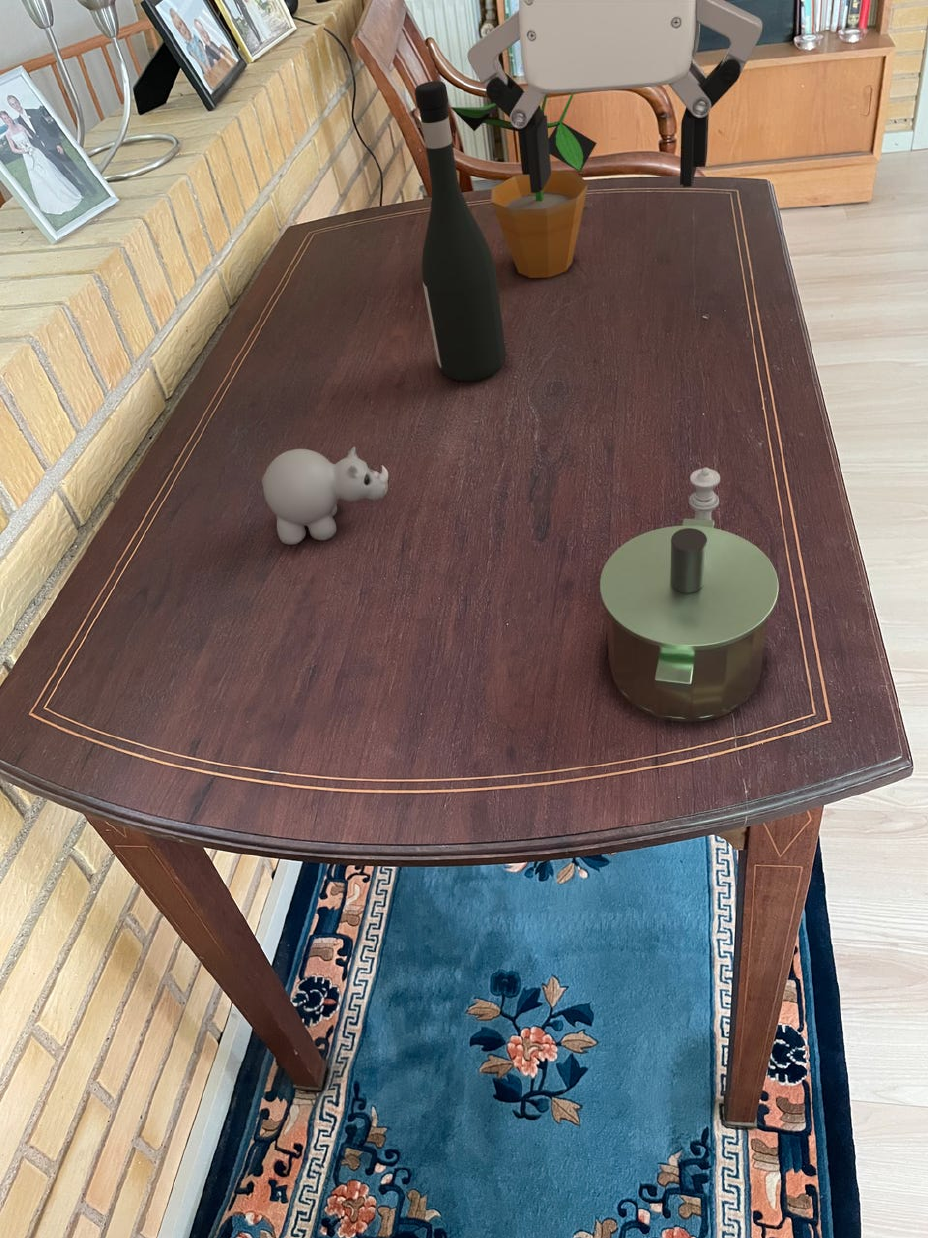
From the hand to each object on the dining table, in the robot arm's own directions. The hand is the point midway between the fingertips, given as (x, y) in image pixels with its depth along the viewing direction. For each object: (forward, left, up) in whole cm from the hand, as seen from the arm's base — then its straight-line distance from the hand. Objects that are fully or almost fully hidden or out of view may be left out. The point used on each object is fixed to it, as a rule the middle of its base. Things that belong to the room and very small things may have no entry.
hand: (613, 181), depth 60 cm
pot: (-7, +13, -32) cm, 35 cm away
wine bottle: (+22, -29, -32) cm, 49 cm away
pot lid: (-7, +13, -23) cm, 28 cm away
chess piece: (-7, +1, -32) cm, 33 cm away
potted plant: (+19, -55, -32) cm, 67 cm away
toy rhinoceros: (+28, 0, -32) cm, 43 cm away
